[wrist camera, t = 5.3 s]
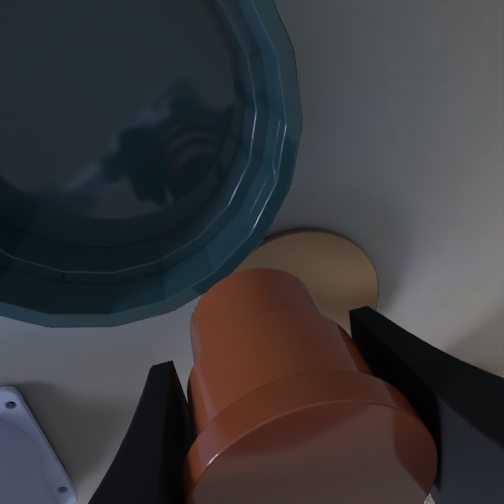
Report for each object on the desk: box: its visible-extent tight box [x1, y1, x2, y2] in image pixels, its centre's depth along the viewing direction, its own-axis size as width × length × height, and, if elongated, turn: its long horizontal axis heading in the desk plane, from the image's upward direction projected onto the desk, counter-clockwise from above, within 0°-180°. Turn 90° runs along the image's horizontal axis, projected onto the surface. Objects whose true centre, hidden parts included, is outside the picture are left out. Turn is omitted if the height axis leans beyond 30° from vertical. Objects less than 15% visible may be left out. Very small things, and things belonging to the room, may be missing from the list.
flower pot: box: [180, 268, 438, 504], centre depth 13 cm, size 6×6×6 cm
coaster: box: [229, 229, 379, 337], centre depth 25 cm, size 9×9×1 cm
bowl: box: [0, 0, 302, 328], centre depth 16 cm, size 14×14×5 cm
